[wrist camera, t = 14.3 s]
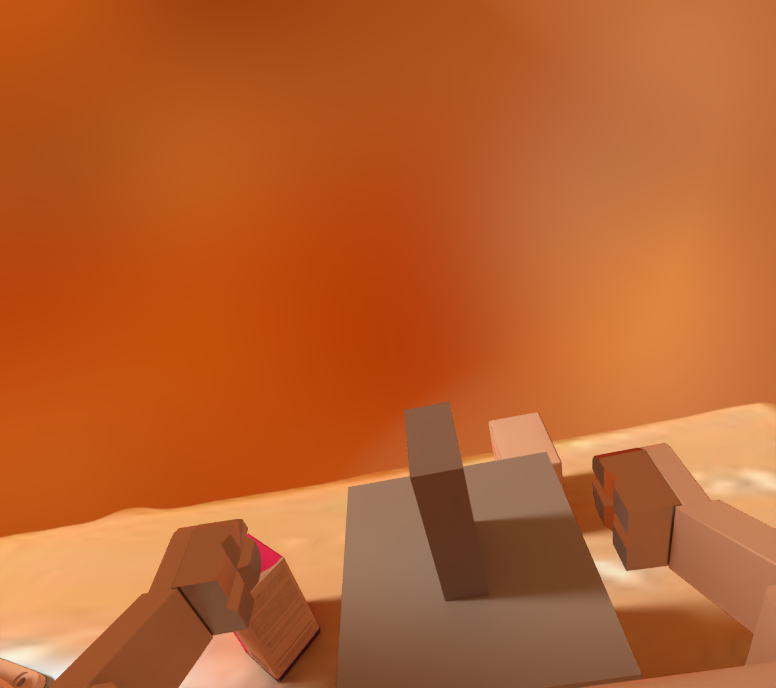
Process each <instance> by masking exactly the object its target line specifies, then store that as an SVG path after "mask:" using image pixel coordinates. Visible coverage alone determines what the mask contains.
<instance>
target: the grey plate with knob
mask: <svg viewBox="0 0 776 688" xmlns="http://www.w3.org/2000/svg"><path fill="white" fill-rule="evenodd" d="M405 422H406V435H407V447H408V460H409V472H410V476H409V477H403V478H398V479H392V480H386V481H381V482H375V483H370V484H364V485H359V486H353V487H348V503H347V519H346V536H345V552H344V568H343V584H342V600H341V616H340V632H339V648H338V664H337V680H336V688H580V687H588V686H595V685H603V684H610V683H618V682H625V681H633V680H640V679H642V673H641V671H640V668H639V666H638V664H637V661H636V659H635V657H634V654H633V652H632V650H631V647H630V645H629V643H628V640H627V638H626V636H625V633H624V631H623V629H622V626H621V624H620V622H619V619H618V617H617V615H616V612H615V610H614V608H613V605H612V603H611V601H610V598H609V596H608V594H607V591H606V589H605V587H604V584H603V582H602V580H601V577H600V575H599V573H598V570H597V568H596V566H595V563H594V561H593V559H592V556H591V554H590V552H589V549H588V547H587V545H586V542H585V540H584V538H583V535H582V533H581V531H580V528H579V526H578V524H577V521H576V519H575V517H574V514H573V512H572V510H571V507H570V505H569V503H568V500H567V498H566V496H565V493H564V491H563V489H562V486H561V484H560V482H559V479H558V477H557V475H556V472H555V470H554V468H553V465H552V463H551V461H550V458H549V456H548V454H547V452H542V453H536V454H531V455H525V456H519V457H514V458H508V459H503V460H497V461H492V462H486V463H481V464H475V465H470V466H464V467H463V465H462V460H461V455H460V451H459V446H458V441H457V437H456V431H455V427H454V422H453V417H452V413H451V408H450V403H449V402H445V403H439V404H435V405H429V406H424V407H419V408H414V409H408V410H405Z"/></svg>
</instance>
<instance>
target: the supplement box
mask: <svg viewBox="0 0 776 688" xmlns="http://www.w3.org/2000/svg"><path fill="white" fill-rule="evenodd" d="M246 536H247V537H249V538H251V539H253V540H255V542H256V544H257V546H258V547H259V551H260V555H261V573H260V578H259V582H258V583H257V584H256V586H255V587H254V588H253V589H252V591H251V594H252V596H253V598H254V600H255V601H254V606H253V610H252V615H251V619H250V623H249V628H248V629H245V630H239V631H234V632H233V633H234V634H235V636H236V637H237V639H238V640H239V642H240V643H241V645H242V646H243V648H244V650H245V651H246V652H247V653H248V654H249V655H250V656H251V657H252V658H253V659H254V660H255V661H256V662H257V663H258V664H259V665H260V666H261V667H262V668H263V669H264V670H265V671H266V672H267V673H269V674H270V675H271V676H272V677H273V678H274V679H275V680H276V681H278V682H281V680H282V679H283V678H284V677H285V676H286V674H287V673H288V672H289V671H290V669H291V668H292V667H293V665H294V664H295V663H296V661H297V660H298V659H299V658H300V656H301V655H302V654H303V653H304V651H305V650H306V649H307V648H308V646H309V645H310V644H311V643H312V641H313V640H314V639H315V638H316V636H317V635H318V634H319V632H320V628H319V626H318V624H317V621H316V620H315V618H314V616H313V614H312V612H311V610H310V608H309V606H308V604H307V602H306V600H305V598H304V596H303V594H302V592H301V590H300V588H299V586H298V584H297V582H296V580H295V578H294V576H293V574H292V572H291V570H290V569H289V566H288V564H287V563H286V561H285V558H284V557H282V556H281V555H279V554H278V553H276V552H275V551H273V550H272V549H270V548H269V547H268V546H266V545H264V544H263V543H262V542H260V541H259V540H257V539H256V538H254V537H252V536H251V535H250V534H247V535H246Z"/></svg>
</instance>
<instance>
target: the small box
mask: <svg viewBox="0 0 776 688" xmlns="http://www.w3.org/2000/svg"><path fill="white" fill-rule="evenodd" d="M489 428H490V434H491V440H492V446H493V452H494V458H495V461H497V460H503V459H508V458H514V457H519V456H525V455H531V454H536V453H542V452H547V454H548V456H549V458H550V461H551V463H552V465H553V468H554V470H555V472H556V475H557V477H558V479H559V482H560V484H561V486H562V489H563V477H562V462H561V460H560V458H559V456H558V454H557V452H556V449H555V447H554V445H553V443H552V441H551V439H550V437H549V434H548V432H547V430H546V428H545V425H544V423H543V421H542V419H541V417H540V414H539V413H538V412H537V413H531V414H525V415H520V416H514V417H509V418H503V419H498V420H493V421H489ZM563 491H564V489H563Z"/></svg>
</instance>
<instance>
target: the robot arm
mask: <svg viewBox="0 0 776 688" xmlns="http://www.w3.org/2000/svg"><path fill="white" fill-rule="evenodd" d="M592 469H593V471H594V473H595V474H596V476H597V478H596V480H595V481H594V482H593V495H594V499H595V504H596V507H597V510H598V513H599V515H600V518H601V520H602V522H603V524H604V526H606V527H607V528H609V529H610V530H612V531H613V545H614V547H615V549H616V551H617V553H618V555H619V557H620V559H621V561H622V563H623V565H624V567H625V569H626V571H629V570H637V569H645V568H653V567H661V566H669V568H670V569H671V570H672V571H674V572H675V573H676V574H677V575H679V576H680V577H681V578H683V579H684V580H685V581H686V582H688V583H689V584H690V585H692V586H693V587H694V588H695V589H697V590H698V591H699V592H700V593H702V594H703V595H704V596H706V597H707V598H708V599H709V600H711V601H712V602H713V603H714V604H716V605H717V606H718V607H720V608H721V609H722V610H723V611H725V612H726V613H727V614H729V615H730V616H731V617H732V618H734V619H735V620H736V621H737V622H739V623H740V624H741V625H743V626H744V627H745V628H746V629H748V630H749V631H750V632H752V633H753V634H754V636H753V639H752V642H751V646H750V649H749V653H748V656H747V660H746V663H745V666H738V667H730V668H723V669H715V670H708V671H700V672H693V673H685V674H678V675H670V676H663V677H655V678H648V679H640V680H633V681H625V682H618V683H610V684H603V685H595V686H588V687H580V688H776V529H774V528H773V527H771V526H769V525H767V524H765V523H763V522H761V521H759V520H757V519H755V518H753V517H751V516H749V515H747V514H745V513H743V512H742V511H740V510H738V509H736V508H734V507H732V506H730V505H728V504H726V503H724V502H722V501H720V500H712V501H711V500H710V499H709V497H708V496H707V495H706V493H705V492H704V491H703V489H702V488H701V487H700V485H699V484H698V483H697V481H696V480H695V479H694V478H693V476H692V475H691V474H690V472H689V471H688V470H687V468H686V467H685V466H684V464H683V463H682V462H681V460H680V459H679V458H678V457H677V455H676V454H675V453H674V451H673V450H672V449H671V447H670V446H669V445H667V444H665V443H662V444H657V445H651V446H646V447H641V448H634V449H628V450H623V451H618V452H612V453H607V454H602V455H596V456H594V458H593V466H592ZM247 530H248V528H247V526H246V524H245V523H244V521H243V520H242V519H235V520H228V521H222V522H215V523H208V524H201V525H197V526H190V527H184V528H179V529H178V530H177V531H176V532H175V533H174V534H173V536H172V538H171V540H170V543H169V545H168V548H167V550H166V552H165V555H164V557H163V559H162V562H161V564H160V566H159V569H158V571H157V573H156V576H155V578H154V580H153V583H152V585H151V588H150V590H149V592H148V593H145V594H142V595H141V596H140V597H139V598H138V599H137V600H136V601H135V602H134V603H133V604H132V605H131V606H130V607H129V608H128V609H127V610H126V611H125V612H124V613H123V614H122V615H121V616H120V617H119V618H118V619H117V620H116V621H115V622H114V623H113V624H112V625H111V626H110V627H109V628H108V629H107V630H106V631H105V632H104V633H103V634H102V635H101V636H100V637H99V638H98V639H97V640H96V641H94V642H93V643H92V644H91V645H90V646H89V647H88V648H87V649H86V650H85V651H84V652H83V653H82V654H81V655H80V656H79V657H78V658H77V659H76V660H75V661H74V662H73V663H72V664H71V665H70V666H69V667H68V668H67V669H66V670H65V671H64V672H63V673H62V674H61V675H60V676H59V677H58V678H57V679H56V680H55V681H54V682H53V683H52V684H51V685H50V686H49V687H48V688H178V687H179V686H180V685H181V683H182V682H183V680H184V679H185V677H186V676H187V674H188V673H189V672H190V670H191V669H192V667H193V666H194V664H195V663H196V661H197V660H198V659H199V657H200V656H201V654H202V653H203V651H204V650H205V648H206V647H207V646H208V644H209V643H210V641H211V640H212V638H213V636H212V635H218V634H223V633H229V632H234V631H239V630H245V629H248V628H249V623H250V619H251V615H252V610H253V606H254V601H255V600H254V598H253V596H252V594H251V591H252V589H253V588H254V587H255V586H256V584H257V583H258V582H259V578H260V573H261V555H260V551H259V547H258V546H257V544H256V542H255V540H253V539H251V538H249V537H247V536H246V534H247ZM45 682H46V678H45V676H43V675H42V674H40V673H38V672H36V671H33V670H31V669H28V668H25V667H23V666H20V665H17V664H14V663H12V662H9V661H6V660H4V659H1V658H0V688H44V686H45Z"/></svg>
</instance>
